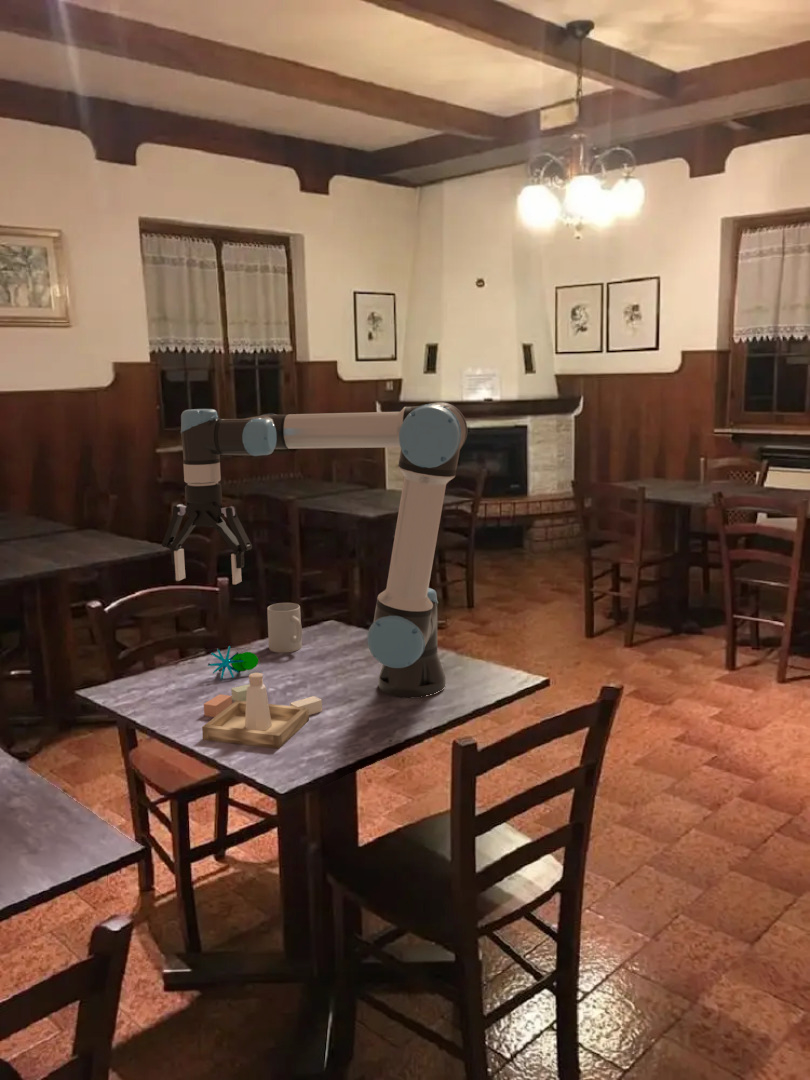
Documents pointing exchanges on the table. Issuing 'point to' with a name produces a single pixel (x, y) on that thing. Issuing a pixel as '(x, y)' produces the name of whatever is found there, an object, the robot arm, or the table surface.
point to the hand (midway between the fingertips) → (208, 581)
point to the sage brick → (239, 693)
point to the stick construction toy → (235, 662)
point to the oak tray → (234, 731)
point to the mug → (284, 627)
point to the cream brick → (309, 704)
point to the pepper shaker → (257, 704)
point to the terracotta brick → (217, 705)
